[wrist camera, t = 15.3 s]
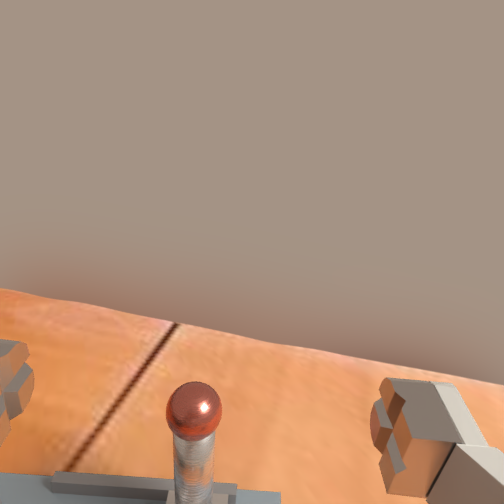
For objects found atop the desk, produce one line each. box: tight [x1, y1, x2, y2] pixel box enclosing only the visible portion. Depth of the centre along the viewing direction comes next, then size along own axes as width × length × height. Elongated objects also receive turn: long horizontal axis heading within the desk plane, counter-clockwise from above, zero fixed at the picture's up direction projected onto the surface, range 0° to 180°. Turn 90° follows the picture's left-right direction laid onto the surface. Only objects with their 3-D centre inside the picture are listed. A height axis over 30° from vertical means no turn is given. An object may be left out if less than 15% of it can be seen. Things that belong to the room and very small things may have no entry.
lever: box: [166, 382, 228, 504], centre depth 27 cm, size 9×6×16 cm
